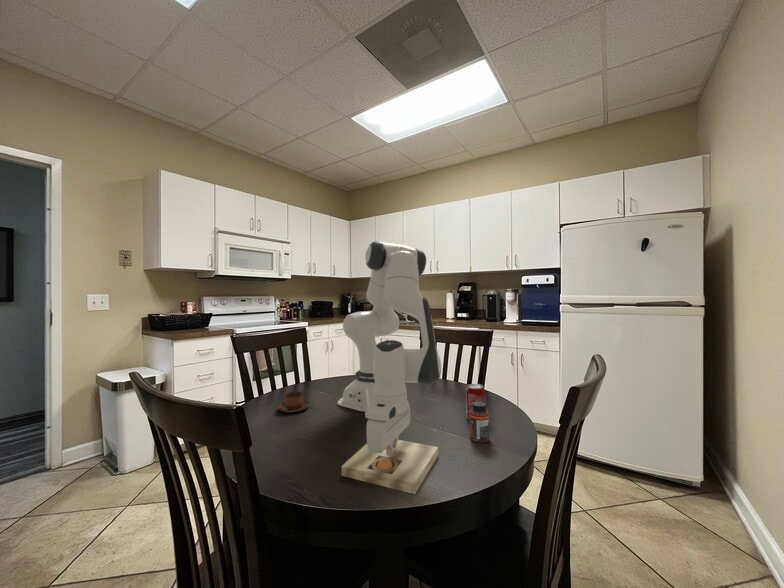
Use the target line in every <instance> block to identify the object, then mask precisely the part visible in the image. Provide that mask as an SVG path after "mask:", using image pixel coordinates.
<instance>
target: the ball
mask: <svg viewBox="0 0 784 588" xmlns="http://www.w3.org/2000/svg"><path fill="white" fill-rule="evenodd" d="M377 468H378V469H382V470H387V469H391V468H392V463H391V461H390V460H389V459H386V458H383V459H381V460H380V461H379V462H378V464H377Z"/></svg>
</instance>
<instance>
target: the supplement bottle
mask: <svg viewBox="0 0 784 588" xmlns="http://www.w3.org/2000/svg"><path fill="white" fill-rule="evenodd" d="M486 405H487V404H486V402H485V403H483V402H473V406H472V407H473V408H472V409H471V410H470V419H469V438H470V440H471V441H473V442H476V443H480V444H481V443H488V442H489V440H490V412H489V411H488V409H486V408H487V406H486Z"/></svg>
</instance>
